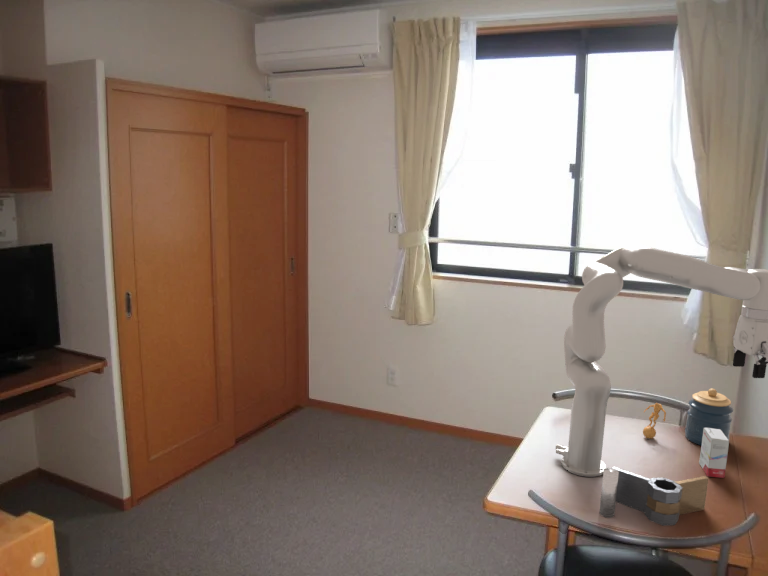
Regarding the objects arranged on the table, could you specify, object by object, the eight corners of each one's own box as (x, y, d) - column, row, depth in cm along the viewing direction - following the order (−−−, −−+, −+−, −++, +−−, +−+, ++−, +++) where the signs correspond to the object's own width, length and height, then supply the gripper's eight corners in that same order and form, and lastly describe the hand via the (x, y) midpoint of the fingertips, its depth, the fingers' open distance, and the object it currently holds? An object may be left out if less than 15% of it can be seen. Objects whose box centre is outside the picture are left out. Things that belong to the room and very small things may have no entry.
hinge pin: (597, 514, 163) (601, 471, 160) (602, 508, 165) (607, 466, 163) (611, 519, 160) (615, 475, 158) (616, 513, 163) (620, 470, 161)
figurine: (634, 434, 211) (638, 400, 208) (647, 430, 213) (651, 397, 211) (654, 444, 203) (658, 409, 201) (667, 440, 206) (672, 406, 204)
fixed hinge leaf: (681, 516, 162) (685, 484, 160) (671, 528, 157) (676, 495, 155) (614, 492, 173) (617, 462, 171) (603, 503, 168) (607, 472, 166)
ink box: (725, 478, 182) (730, 440, 180) (706, 476, 183) (711, 438, 181) (716, 464, 191) (721, 428, 188) (698, 463, 191) (703, 426, 189)
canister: (710, 430, 215) (717, 381, 211) (737, 447, 203) (745, 395, 199) (676, 432, 213) (682, 382, 209) (700, 449, 200) (707, 397, 197)
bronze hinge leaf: (660, 527, 157) (664, 494, 155) (639, 511, 164) (642, 480, 162) (713, 515, 163) (718, 484, 161) (691, 501, 170) (695, 470, 168)
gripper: (726, 306, 185) (718, 361, 189) (762, 321, 168) (752, 382, 172) (751, 306, 185) (743, 362, 189) (789, 321, 168) (780, 382, 172)
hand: (748, 371), depth 180 cm, fingers open, 9 cm apart
